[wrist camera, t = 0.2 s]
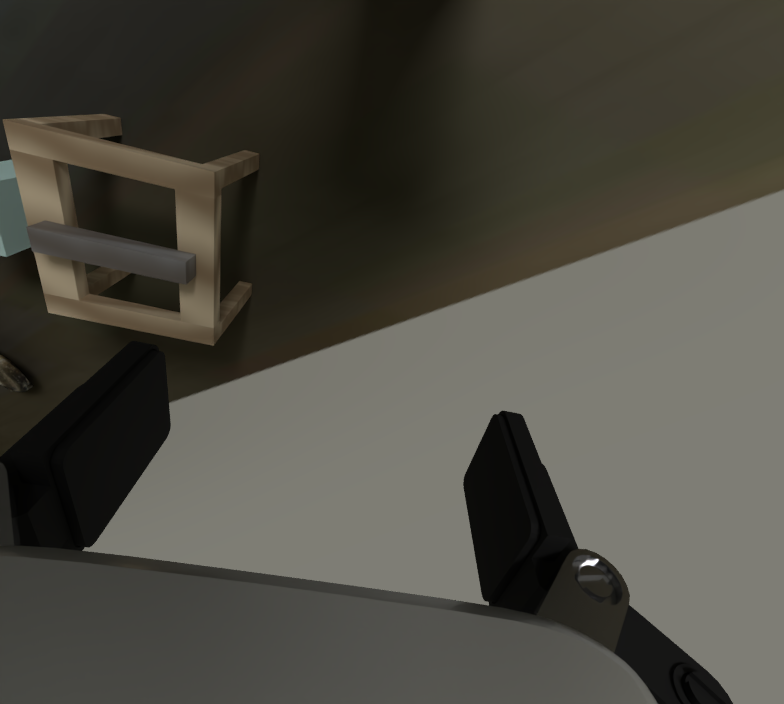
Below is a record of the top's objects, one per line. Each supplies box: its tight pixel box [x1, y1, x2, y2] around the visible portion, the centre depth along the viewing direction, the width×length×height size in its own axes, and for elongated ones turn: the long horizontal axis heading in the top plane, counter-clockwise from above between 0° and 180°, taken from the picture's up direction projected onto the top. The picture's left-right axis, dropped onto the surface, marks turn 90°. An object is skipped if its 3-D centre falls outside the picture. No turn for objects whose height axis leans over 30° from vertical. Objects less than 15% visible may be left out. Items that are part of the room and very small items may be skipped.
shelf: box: [3, 114, 260, 346], centre depth 39 cm, size 16×15×14 cm
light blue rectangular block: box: [0, 160, 31, 257], centre depth 40 cm, size 7×4×8 cm, turn 167°
